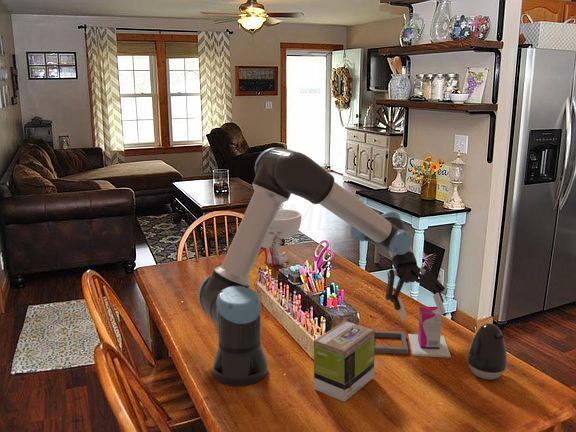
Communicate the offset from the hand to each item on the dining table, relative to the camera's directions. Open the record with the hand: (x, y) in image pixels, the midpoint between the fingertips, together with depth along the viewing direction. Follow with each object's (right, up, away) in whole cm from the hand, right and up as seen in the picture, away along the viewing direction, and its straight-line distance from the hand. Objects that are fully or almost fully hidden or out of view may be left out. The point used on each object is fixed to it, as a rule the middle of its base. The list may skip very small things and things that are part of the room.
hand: (423, 316), depth 165 cm
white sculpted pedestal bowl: (-48, +9, +71) cm, 86 cm away
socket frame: (-12, -8, -1) cm, 14 cm away
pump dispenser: (+13, -13, -18) cm, 25 cm away
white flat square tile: (+1, -9, -2) cm, 9 cm away
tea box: (-27, -14, -22) cm, 38 cm away
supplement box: (+1, -8, -2) cm, 9 cm away
